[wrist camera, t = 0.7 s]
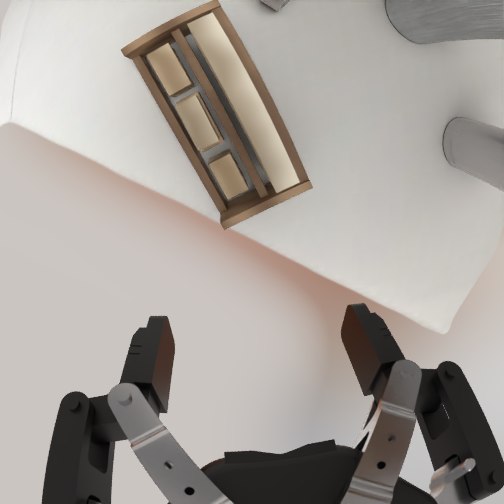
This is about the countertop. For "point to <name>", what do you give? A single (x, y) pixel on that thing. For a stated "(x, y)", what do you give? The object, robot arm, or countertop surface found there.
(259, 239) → the countertop surface
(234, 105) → the sheet
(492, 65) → the countertop surface
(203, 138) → the upper offcut
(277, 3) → the decorative sign
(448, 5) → the vase
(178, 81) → the offcut
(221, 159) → the offcut
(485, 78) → the countertop surface
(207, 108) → the block
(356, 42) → the countertop surface
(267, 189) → the rack
